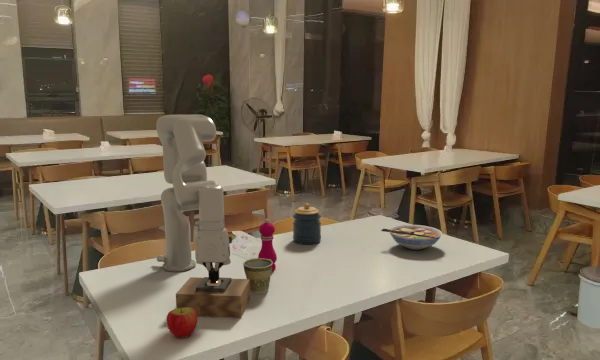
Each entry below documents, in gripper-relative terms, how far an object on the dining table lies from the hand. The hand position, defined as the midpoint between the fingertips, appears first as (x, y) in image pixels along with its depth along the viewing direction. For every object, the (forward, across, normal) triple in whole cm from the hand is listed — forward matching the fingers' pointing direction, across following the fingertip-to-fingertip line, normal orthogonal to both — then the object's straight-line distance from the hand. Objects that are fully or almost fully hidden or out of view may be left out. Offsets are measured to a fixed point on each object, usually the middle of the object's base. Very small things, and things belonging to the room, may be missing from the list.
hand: (214, 281), depth 155 cm
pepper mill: (+9, +11, +36) cm, 39 cm away
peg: (+8, 0, 0) cm, 9 cm away
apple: (+9, -4, -19) cm, 21 cm away
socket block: (+9, 0, 0) cm, 9 cm away
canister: (+8, +23, +75) cm, 79 cm away
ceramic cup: (+9, +12, +16) cm, 22 cm away
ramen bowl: (+9, +71, +69) cm, 99 cm away
